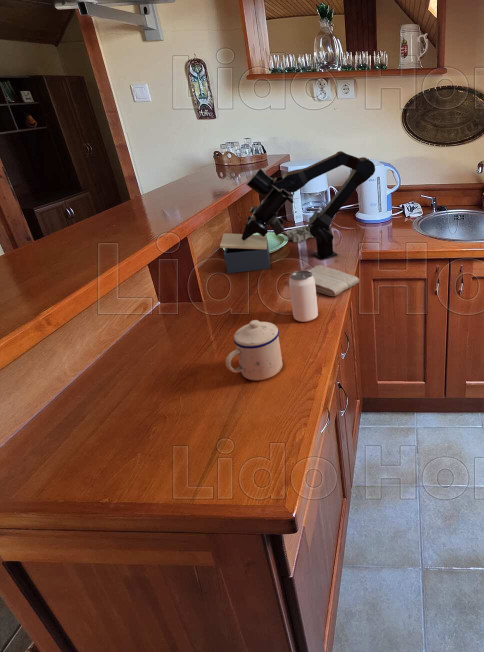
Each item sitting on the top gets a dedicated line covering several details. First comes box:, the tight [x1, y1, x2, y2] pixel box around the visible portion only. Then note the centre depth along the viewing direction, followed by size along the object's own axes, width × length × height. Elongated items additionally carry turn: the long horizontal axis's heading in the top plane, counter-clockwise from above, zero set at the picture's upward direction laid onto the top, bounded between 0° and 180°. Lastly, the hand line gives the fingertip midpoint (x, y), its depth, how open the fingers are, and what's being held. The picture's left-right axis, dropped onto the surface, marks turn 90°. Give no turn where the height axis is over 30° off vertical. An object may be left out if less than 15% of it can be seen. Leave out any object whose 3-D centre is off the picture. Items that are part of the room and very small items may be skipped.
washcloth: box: [307, 264, 360, 297], centre depth 128 cm, size 12×18×3 cm, turn 54°
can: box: [288, 270, 319, 323], centre depth 108 cm, size 6×6×12 cm
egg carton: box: [285, 224, 314, 243], centre depth 167 cm, size 11×8×4 cm
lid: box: [219, 232, 268, 249], centre depth 141 cm, size 14×13×1 cm
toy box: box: [223, 240, 271, 274], centre depth 143 cm, size 14×13×7 cm
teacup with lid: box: [225, 319, 283, 381], centre depth 87 cm, size 12×9×12 cm
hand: (242, 239), depth 141 cm, fingers closed, pressing on lid
